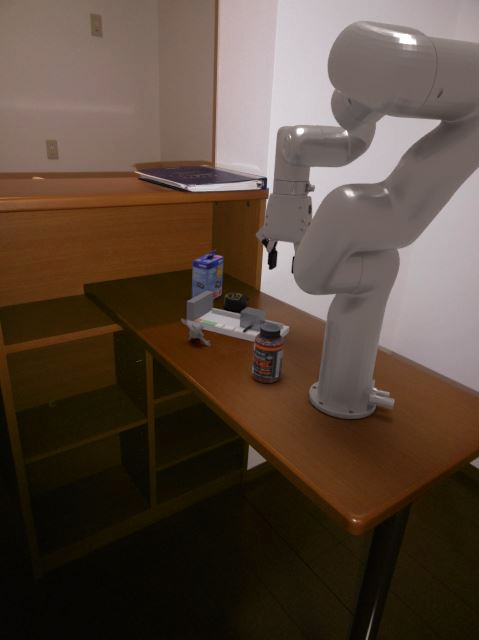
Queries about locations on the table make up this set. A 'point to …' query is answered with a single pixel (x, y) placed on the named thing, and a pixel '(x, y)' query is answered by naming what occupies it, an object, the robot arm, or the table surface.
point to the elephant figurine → (195, 332)
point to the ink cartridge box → (207, 274)
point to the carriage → (252, 319)
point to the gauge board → (220, 318)
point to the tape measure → (235, 301)
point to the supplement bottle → (268, 354)
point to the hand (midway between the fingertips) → (283, 269)
